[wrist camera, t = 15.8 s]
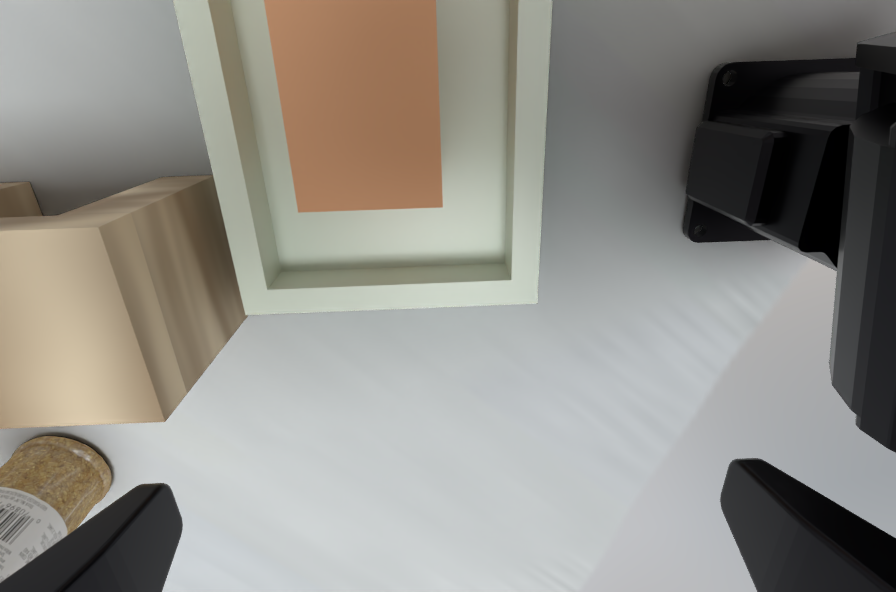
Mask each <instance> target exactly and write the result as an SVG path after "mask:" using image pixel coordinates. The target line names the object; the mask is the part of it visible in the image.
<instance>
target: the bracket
mask: <svg viewBox="0 0 896 592" xmlns="http://www.w3.org/2000/svg"><path fill="white" fill-rule="evenodd" d="M247 316H248V315H245V311H244V307H243V303H242V298H241V294H240V290H239V285H238V281H237V277H236V272H235V268H234V264H233V259H232V255H231V251H230V246H229V242H228V238H227V233H226V229H225V225H224V220H223V216H222V212H221V207H220V203H219V199H218V194H217V190H216V186H215V181H214V177H213V175H200V176H173V177H161V178H158V179H155V180H153V181H150V182H147V183H144V184H142V185H139V186H136V187H134V188H131V189H128V190H125V191H123V192H120V193H117V194H114V195H112V196H109V197H106V198H104V199H101V200H98V201H95V202H93V203H90V204H87V205H85V206H82V207H79V208H76V209H74V210H71V211H68V212H65V213H63V214H60V215H57V216H43V215H42V213H41V210H40V208H39V205H38V203H37V200H36V197H35V195H34V192H33V190H32V187H31V185H30V182H10V183H0V429H6V428H30V427H53V426H77V425H100V424H124V423H147V422H165V421H166V420H167V419H168V418H169V416H170V415H171V414H172V412H173V411H174V410H175V409H176V407H177V406H178V405H179V403H180V402H181V401H182V400H183V398H184V397H185V396H186V394H187V393H188V392H189V391H190V389H191V388H192V387H193V385H194V384H195V383H196V382H197V380H198V379H199V378H200V377H201V375H202V374H203V373H204V371H205V370H206V369H207V368H208V366H209V365H210V364H211V362H212V361H213V360H214V359H215V357H216V356H217V355H218V353H219V352H220V351H221V350H222V348H223V347H224V346H225V344H226V343H227V342H228V341H229V339H230V338H231V337H232V335H233V334H234V333H235V332H236V330H237V329H238V328H239V327H240V325H241V324H242V323H243V321H244V320H245V319H246V318H247Z"/></svg>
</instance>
